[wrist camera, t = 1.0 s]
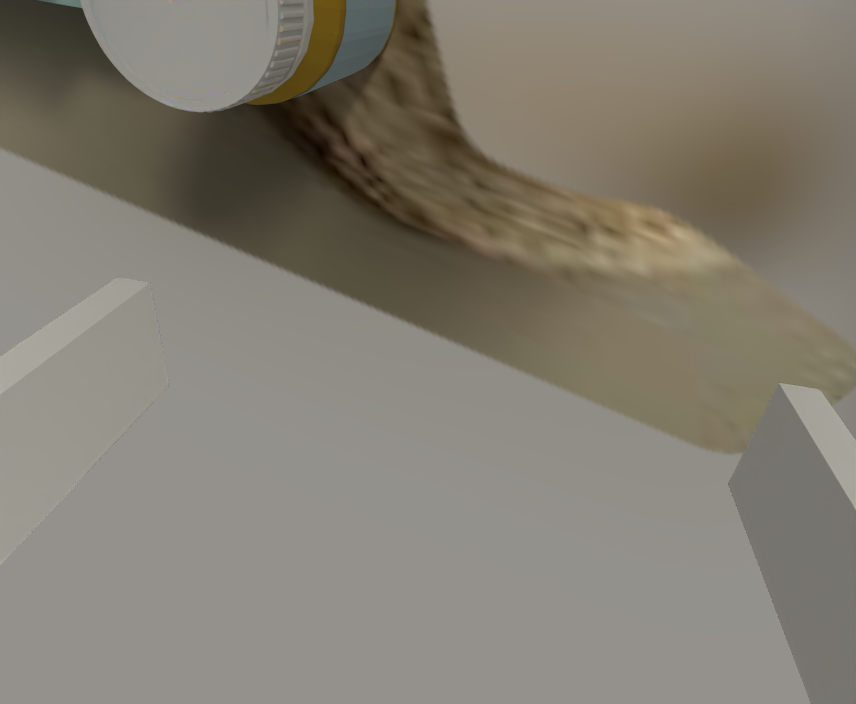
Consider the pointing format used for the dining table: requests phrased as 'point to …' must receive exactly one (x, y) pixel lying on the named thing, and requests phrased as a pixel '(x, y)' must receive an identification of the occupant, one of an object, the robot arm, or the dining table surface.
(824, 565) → the robot arm
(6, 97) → the dining table surface
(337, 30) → the bottle
